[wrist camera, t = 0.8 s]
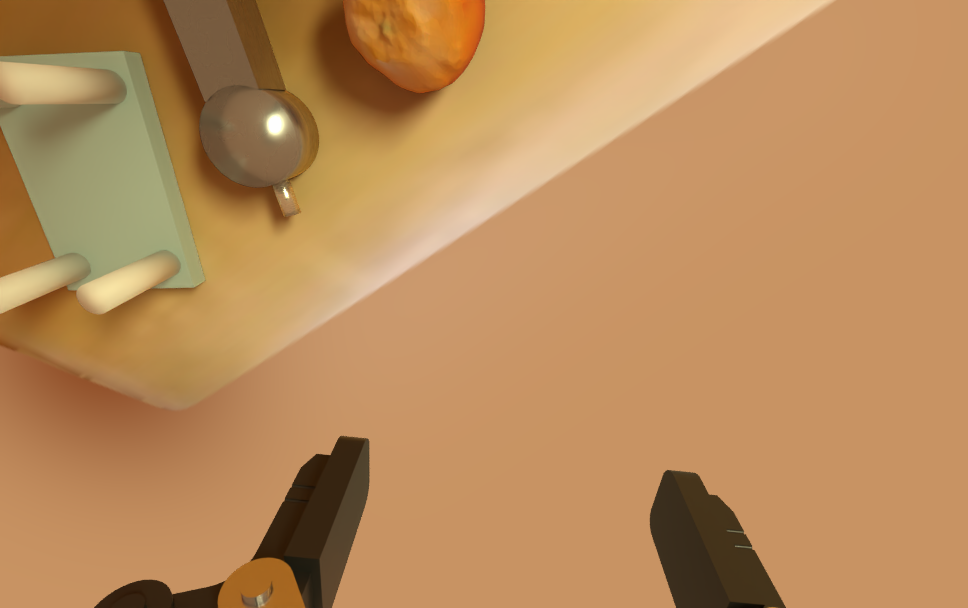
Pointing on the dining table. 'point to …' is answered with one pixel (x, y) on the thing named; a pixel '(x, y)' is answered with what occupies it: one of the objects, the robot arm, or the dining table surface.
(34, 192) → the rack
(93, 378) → the dining table surface
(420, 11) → the fruit
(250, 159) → the ball-topped lever
